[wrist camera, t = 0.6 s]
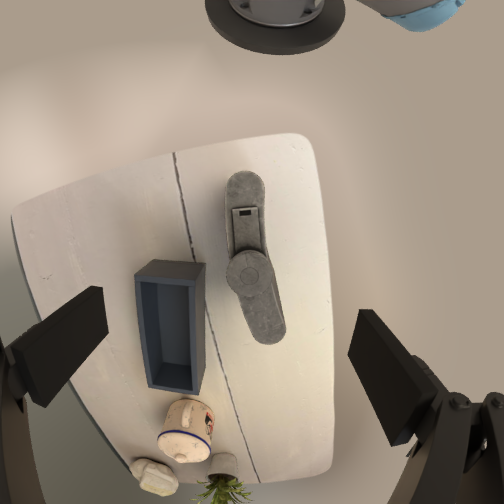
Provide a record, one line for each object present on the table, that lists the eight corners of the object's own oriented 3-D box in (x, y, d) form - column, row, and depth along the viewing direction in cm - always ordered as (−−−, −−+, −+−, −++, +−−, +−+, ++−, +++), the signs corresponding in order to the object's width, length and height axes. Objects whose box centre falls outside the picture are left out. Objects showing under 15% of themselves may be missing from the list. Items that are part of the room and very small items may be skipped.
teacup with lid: (214, 431, 46) (207, 477, 35) (169, 422, 46) (155, 466, 34) (219, 391, 43) (211, 441, 32) (167, 381, 43) (148, 428, 31)
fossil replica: (129, 450, 49) (143, 467, 53) (118, 474, 42) (134, 490, 45) (174, 460, 48) (185, 476, 51) (165, 488, 40) (178, 501, 44)
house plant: (264, 472, 50) (266, 527, 34) (209, 475, 51) (201, 527, 35) (252, 442, 47) (252, 507, 31) (189, 445, 47) (175, 505, 31)
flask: (249, 285, 38) (244, 363, 21) (230, 180, 35) (206, 175, 18) (275, 281, 38) (290, 356, 21) (258, 175, 35) (262, 165, 17)
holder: (153, 259, 38) (134, 274, 31) (205, 263, 38) (195, 280, 31) (160, 361, 42) (148, 387, 35) (205, 367, 42) (198, 395, 35)
